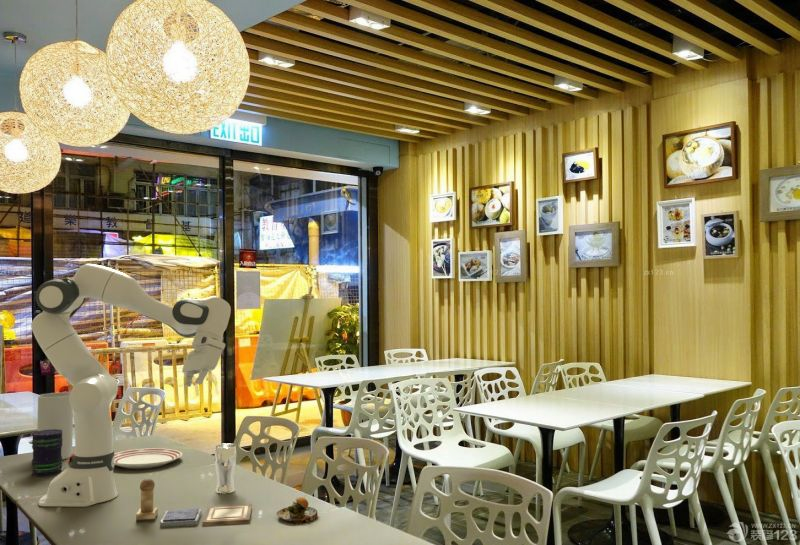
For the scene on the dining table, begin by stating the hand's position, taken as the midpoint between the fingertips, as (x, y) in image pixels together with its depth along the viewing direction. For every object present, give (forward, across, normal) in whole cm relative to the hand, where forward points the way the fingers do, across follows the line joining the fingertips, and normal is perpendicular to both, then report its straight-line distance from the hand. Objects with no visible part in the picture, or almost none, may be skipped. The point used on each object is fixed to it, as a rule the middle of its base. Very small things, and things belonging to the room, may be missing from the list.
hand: (192, 385), depth 212 cm
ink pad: (+39, +10, +6) cm, 41 cm away
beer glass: (+28, -8, +25) cm, 38 cm away
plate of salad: (+32, +28, +33) cm, 54 cm away
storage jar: (+34, -69, -17) cm, 79 cm away
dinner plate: (+22, -63, +14) cm, 68 cm away
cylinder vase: (+27, -92, -12) cm, 97 cm away
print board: (+36, +15, +18) cm, 43 cm away
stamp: (+41, +2, -1) cm, 41 cm away
